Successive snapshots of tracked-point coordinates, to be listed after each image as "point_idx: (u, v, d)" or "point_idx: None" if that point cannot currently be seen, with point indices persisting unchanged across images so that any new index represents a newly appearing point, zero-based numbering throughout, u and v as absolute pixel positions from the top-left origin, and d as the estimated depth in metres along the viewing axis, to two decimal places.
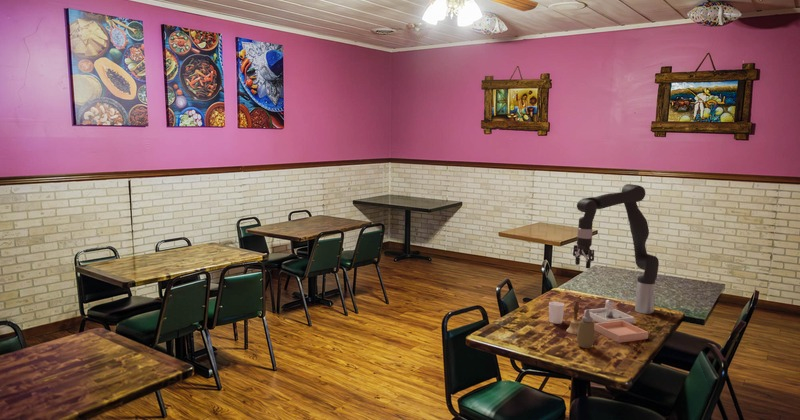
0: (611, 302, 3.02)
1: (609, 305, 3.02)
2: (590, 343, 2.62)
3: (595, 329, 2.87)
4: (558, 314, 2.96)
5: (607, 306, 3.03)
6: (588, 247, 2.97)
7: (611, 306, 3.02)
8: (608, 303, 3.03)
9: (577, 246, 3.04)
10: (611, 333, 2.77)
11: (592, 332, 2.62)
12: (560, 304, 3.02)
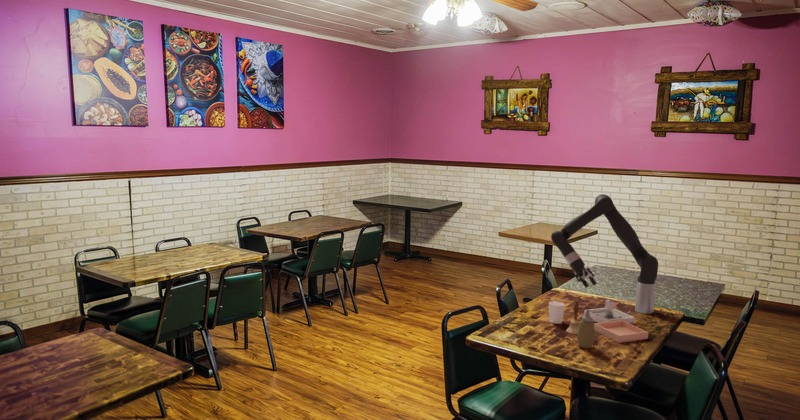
0: (611, 302, 3.02)
1: (609, 305, 3.02)
2: (590, 343, 2.62)
3: (595, 329, 2.87)
4: (558, 314, 2.96)
5: (607, 306, 3.03)
6: (576, 269, 3.14)
7: (611, 306, 3.02)
8: (608, 303, 3.03)
9: None
10: (611, 333, 2.77)
11: (592, 332, 2.62)
12: (560, 304, 3.02)
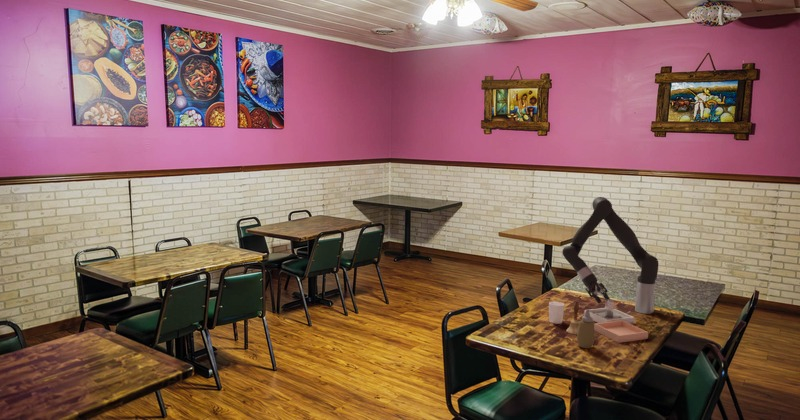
0: (611, 302, 3.02)
1: (609, 305, 3.02)
2: (590, 343, 2.62)
3: (595, 329, 2.87)
4: (558, 314, 2.96)
5: (607, 306, 3.03)
6: (588, 285, 3.09)
7: (611, 306, 3.02)
8: (608, 303, 3.03)
9: None
10: (611, 333, 2.77)
11: (592, 332, 2.62)
12: (560, 304, 3.02)
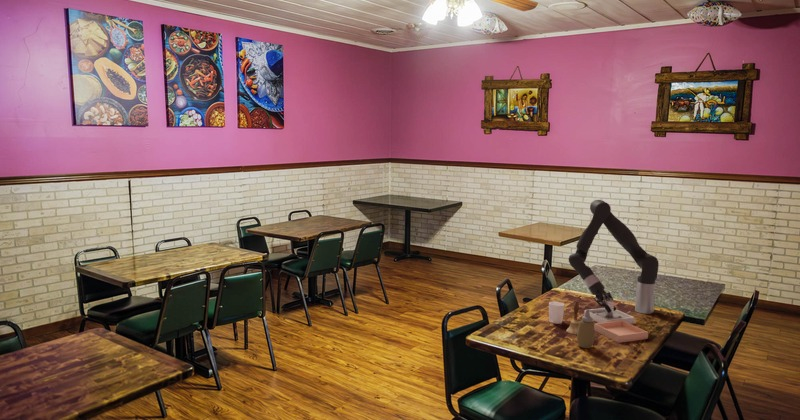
0: (611, 302, 3.02)
1: (609, 305, 3.02)
2: (590, 343, 2.62)
3: (595, 329, 2.87)
4: (558, 314, 2.96)
5: None
6: (595, 293, 3.06)
7: (611, 306, 3.02)
8: (608, 303, 3.03)
9: None
10: (611, 333, 2.77)
11: (592, 332, 2.62)
12: (560, 304, 3.02)
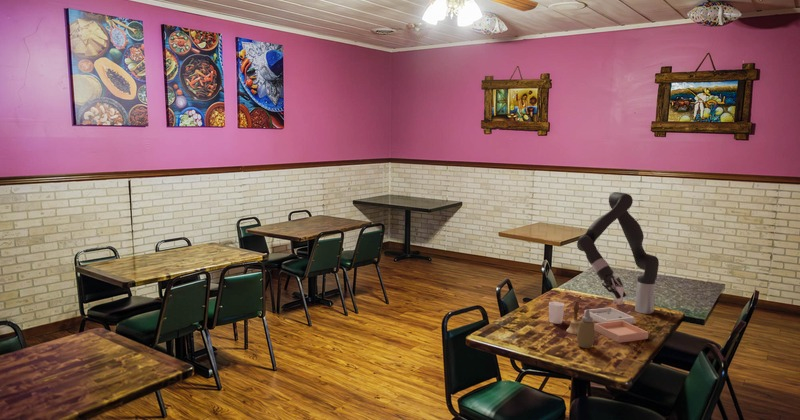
0: (620, 288, 2.83)
1: (618, 291, 2.84)
2: (590, 343, 2.62)
3: (595, 329, 2.87)
4: (558, 314, 2.96)
5: None
6: (604, 278, 2.87)
7: (620, 292, 2.84)
8: (617, 289, 2.84)
9: None
10: (611, 333, 2.77)
11: (592, 332, 2.62)
12: (560, 304, 3.02)
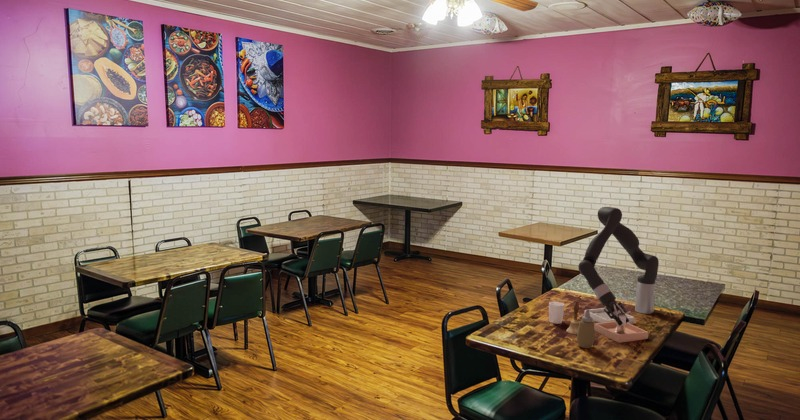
0: (623, 317, 2.80)
1: (621, 320, 2.81)
2: (590, 343, 2.62)
3: (595, 329, 2.87)
4: (558, 314, 2.96)
5: None
6: (606, 304, 2.84)
7: (623, 321, 2.80)
8: (620, 318, 2.81)
9: None
10: (611, 333, 2.77)
11: (592, 332, 2.62)
12: (560, 304, 3.02)
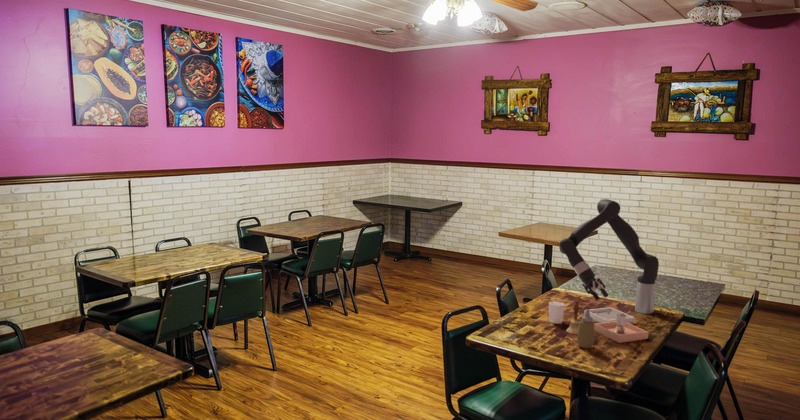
0: (622, 317, 2.80)
1: (620, 320, 2.81)
2: (590, 343, 2.62)
3: (595, 329, 2.87)
4: (558, 314, 2.96)
5: (618, 321, 2.81)
6: (585, 281, 2.92)
7: (622, 321, 2.81)
8: (619, 318, 2.81)
9: None
10: (611, 333, 2.77)
11: (592, 332, 2.62)
12: (560, 304, 3.02)
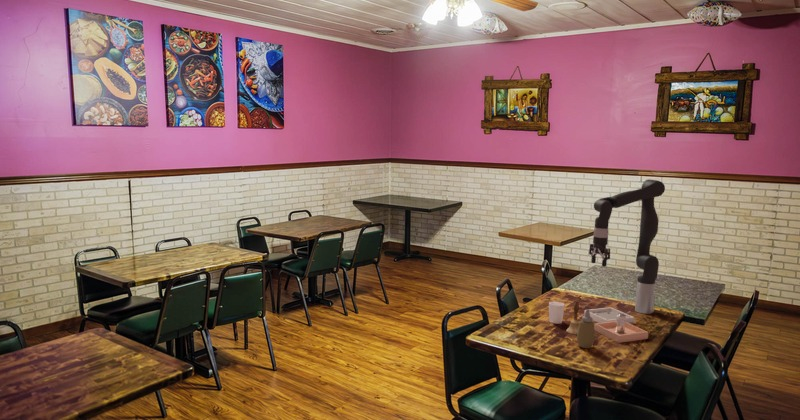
0: (622, 317, 2.80)
1: (620, 320, 2.81)
2: (590, 343, 2.62)
3: (595, 329, 2.87)
4: (558, 314, 2.96)
5: (618, 321, 2.81)
6: (604, 246, 3.07)
7: (622, 321, 2.80)
8: (619, 318, 2.81)
9: (593, 245, 3.15)
10: (611, 333, 2.77)
11: (592, 332, 2.62)
12: (560, 304, 3.02)
